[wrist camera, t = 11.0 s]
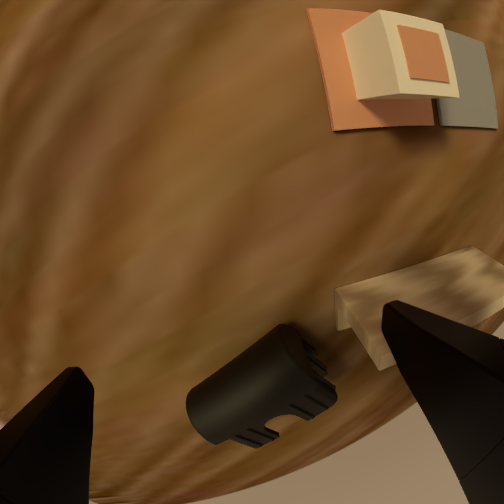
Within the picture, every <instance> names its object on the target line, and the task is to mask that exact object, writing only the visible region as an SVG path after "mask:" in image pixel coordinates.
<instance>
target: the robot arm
mask: <svg viewBox="0 0 504 504" xmlns="http://www.w3.org/2000/svg"><path fill="white" fill-rule="evenodd" d="M381 330H382V333H383V336H384V338H385V340H386V342H387V344H388V346H389V348H390V350H391V353H392V355H393V357H394V359H395V361H396V364H397V366H398V368H399V370H400V372H401V374H402V376H403V378H404V380H405V381H406V383H407V385H408V386H409V388H410V390H411V392H412V393H413V395H414V397H415V398H416V400H417V402H418V404H419V405H420V407H421V409H422V411H423V412H424V414H425V416H426V417H427V420H428V422H429V423H430V425H431V427H432V429H433V431H434V433H435V434H436V436H437V438H438V440H439V442H440V444H441V446H442V448H443V450H444V452H445V454H446V455H447V457H448V459H449V461H450V463H451V465H452V467H453V469H454V471H455V473H456V476H457V478H458V480H460V481H459V482H460V484H461V486H462V489H463V491H464V493H465V495H466V497H467V500H468V502H469V504H504V339H499V338H498V337H496V336H493V335H490V334H488V333H485V332H483V331H480V330H477V329H475V328H472V327H469V326H467V325H464V324H461V323H459V322H456V321H453V320H450V319H448V318H445V317H442V316H440V315H437V314H434V313H432V312H429V311H426V310H424V309H421V308H418V307H416V306H413V305H410V304H407V303H405V302H402V301H399V300H394V301H391V302H388V303H385V304H384V306H383V312H382V322H381ZM93 408H94V387H93V385H92V383H91V382H90V380H89V379H88V378H87V376H86V375H85V373H84V372H83V371H82V369H81V368H79V367H68V368H66V369H65V370H64V371H63V372H62V373H61V374H60V375H58V376H57V377H56V378H55V379H54V380H53V381H52V382H51V383H50V384H49V385H47V386H46V387H45V388H44V389H43V390H42V391H41V392H40V393H39V394H38V395H37V396H35V397H34V398H33V399H32V400H31V401H30V402H29V403H28V404H27V405H26V406H25V407H24V408H23V409H22V410H21V411H19V412H18V413H17V414H16V415H15V416H14V417H13V418H12V419H11V420H10V421H9V422H8V423H7V424H6V425H5V426H4V427H3V428H2V429H1V430H0V504H89V476H90V460H91V447H92V437H93Z"/></svg>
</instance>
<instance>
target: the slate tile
mask: <svg viewBox="0 0 504 504" xmlns="http://www.w3.org/2000/svg"><path fill="white" fill-rule="evenodd" d="M444 30H445V34H446V37H447V41H448V44H449V48H450V52H451V56H452V60H453V65H454V69H455V74H456V79H457V85H458V91H459V97H460V98H436V102H437V109H438V117H439V125H441V126H469V127H485V128H497V129H498V122H497V112H496V104H495V96H494V90H493V84H492V78H491V73H490V68H489V64H488V59H487V55H486V51H485V47H484V43H482V42H480V41H477V40H475V39H472V38H469V37H467V36H464V35H461V34H458V33H455V32H452V31H449V30H446V29H444Z"/></svg>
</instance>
